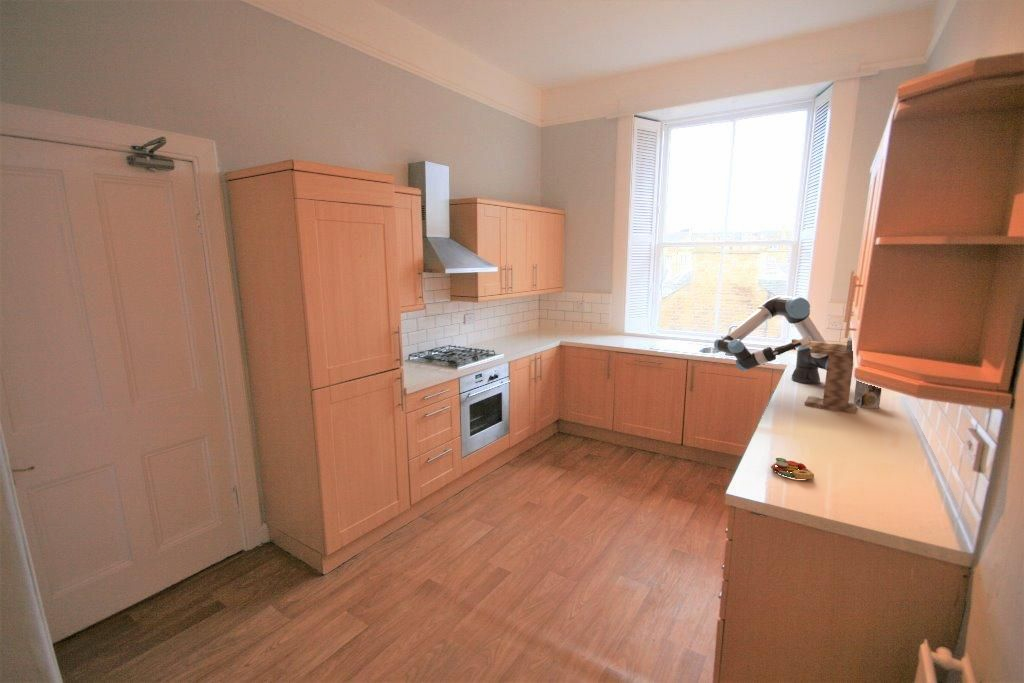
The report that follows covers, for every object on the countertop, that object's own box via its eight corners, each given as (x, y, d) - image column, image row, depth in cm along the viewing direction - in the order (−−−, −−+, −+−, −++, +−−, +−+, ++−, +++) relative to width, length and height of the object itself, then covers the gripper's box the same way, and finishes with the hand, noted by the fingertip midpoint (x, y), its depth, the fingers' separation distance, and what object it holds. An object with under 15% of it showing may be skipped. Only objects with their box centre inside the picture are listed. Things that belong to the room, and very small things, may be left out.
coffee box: (871, 404, 241) (875, 374, 238) (879, 408, 235) (883, 377, 232) (852, 403, 242) (856, 374, 239) (860, 407, 236) (864, 377, 233)
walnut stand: (804, 405, 241) (811, 349, 235) (808, 399, 250) (814, 345, 244) (854, 413, 227) (862, 354, 222) (856, 407, 236) (864, 350, 231)
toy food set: (814, 486, 157) (815, 477, 157) (770, 477, 164) (771, 468, 163) (811, 470, 169) (812, 462, 168) (770, 462, 175) (771, 454, 174)
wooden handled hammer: (790, 346, 242) (791, 335, 241) (793, 343, 249) (794, 332, 248) (861, 353, 223) (862, 341, 222) (862, 350, 230) (864, 338, 229)
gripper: (773, 358, 262) (816, 343, 248) (764, 365, 246) (809, 349, 232) (766, 346, 263) (809, 330, 249) (757, 352, 248) (802, 335, 233)
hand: (809, 339), depth 240 cm, fingers open, 8 cm apart
